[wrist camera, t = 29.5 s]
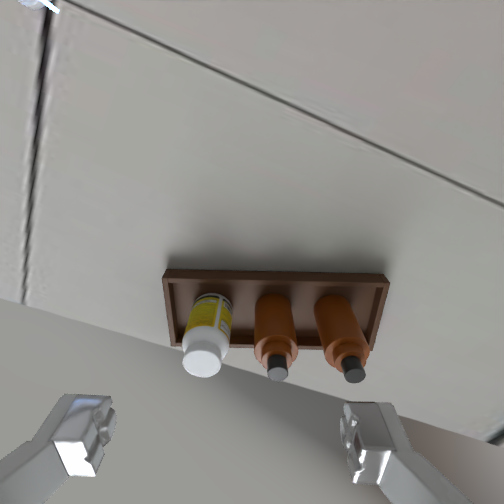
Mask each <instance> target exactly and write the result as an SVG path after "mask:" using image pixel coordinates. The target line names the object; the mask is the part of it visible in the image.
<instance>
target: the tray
mask: <svg viewBox="0 0 504 504" xmlns="http://www.w3.org/2000/svg"><path fill="white" fill-rule="evenodd" d="M162 283H163V290H164V298H165V305H166V312H167V319H168V326H169V334H170V341H171V346H182V340H183V336H184V333H185V330H186V326H187V323H188V320H189V316H190V313H191V310H192V306H193V304H194V302H195V300H196V299H197V298H198V297H200V296H201V295H204V294H207V293H216V294H220V295H222V296H224V297H225V298H227V299H228V300H229V301H230V303H231V305H232V309H233V315H232V324H231V333H230V343H229V348H254V323H255V304H256V302H257V301H258V300H259V299H260V298H261V297H262V296H264V295H267V294H280V295H282V296H284V297H286V298H287V299H288V300H289V302H290V304H291V309H292V315H293V321H294V327H295V333H296V339H297V345H298V349H311V350H323V347H322V344H321V340H320V336H319V332H318V328H317V325H316V321H315V317H314V313H313V309H314V306H315V304H316V302H317V301H318V300H319V299H321V298H322V297H325V296H327V295H340V296H342V297H344V298H345V299H347V300H348V302H349V304H350V306H351V308H352V310H353V313H354V315H355V317H356V319H357V321H358V324H359V326H360V328H361V330H362V332H363V335H364V337H365V339H366V341H367V343H368V346H369V349H370V351H373V347H374V343H375V339H376V335H377V331H378V328H379V324H380V320H381V316H382V312H383V308H384V305H385V301H386V297H387V293H388V289H389V285H390V282H389V281H388V279H387V278H386V277H385V275H384V274H369V273H322V272H275V271H228V270H181V269H166V271H165V273H164V275H163V277H162Z"/></svg>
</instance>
